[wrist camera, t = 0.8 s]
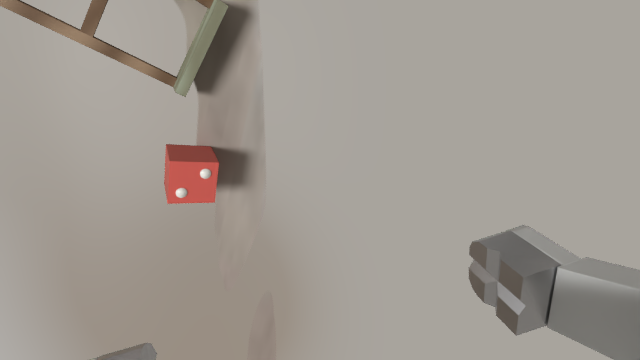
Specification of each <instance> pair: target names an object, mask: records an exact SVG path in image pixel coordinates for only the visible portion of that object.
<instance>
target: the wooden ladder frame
mask: <svg viewBox="0 0 640 360" xmlns="http://www.w3.org/2000/svg"><path fill="white" fill-rule="evenodd" d="M107 1H108V0H92V2H91V4H90V7H89V9H88V12H87V15H86V17H85V20H84V22H83V25H82V27H81V30H80V29H77V28H75V27H73V26H71V25H69V24H67V23H65V22H63V21H61V20H59V19H57V18H55V17H53V16H51V15H49V14H47V13H45V12H43V11H41V10H39V9H37V8H35V7H32V6H30V5H28V4H26V3H24V2H22V1H20V0H0V6H2V7H4V8H6V9H8V10H11V11H13V12H15V13H17V14H19V15H21V16H23V17H26V18H28V19H30V20H32V21H34V22H36V23H38V24H40V25H42V26H45V27H47V28H49V29H51V30H53V31H55V32H57V33H60V34H62V35H64V36H66V37H68V38H70V39H72V40H75V41H76V42H79V43H81V44H83V45H85V46H87V47H89V48H92V49H94V50H96V51H98V52H100V53H102V54H104V55H106V56H108V57H111V58H113V59H115V60H117V61H119V62H121V63H123V64H125V65H128V66H130V67H132V68H134V69H136V70H138V71H140V72H142V73H144V74H147V75H149V76H151V77H153V78H155V79H157V80H159V81H162V82H164V83H166V84H168V85H170V86H172V87H173V88H174V90H175V92H176V93H178V94H180V95H182V96H184V97H186V95H187V92H188V90H189V88H190V86H191V84H192V82H193V80H194V78H195V76H196V74H197V71H198V69H199V67H200V65H201V63H202V61H203V59H204V57H205V55H206V52H207V50H208V48H209V46H210V44H211V42H212V40H213V38H214V36H215V34H216V31H217V29H218V27H219V25H220V23H221V21H222V19H223V17H224V15H225V13H226V10H227V8H228V5H226V4H225V3H223V2H222V1H220V0H196V1H198V2H199V3H201V4H202V5H204V6H205V7H207V8H208V10H207V12H206V14H205V17H204V19H203V21H202V23H201V25H200V27H199V29H198V32H197V34H196V36H195V38H194V40H193V42H192V45H191V47H190V49H189V51H188V53H187V55H186V57H185V60H184V62H183V64H182V66H181V68H180V70H179V73H178V75H177V77H175V76H173V75H171V74H169V73H167V72H165V71H163V70H161V69H159V68H157V67H155V66H153V65H151V64H149V63H147V62H145V61H143V60H141V59H139V58H137V57H135V56H133V55H130V54H128V53H126V52H124V51H122V50H120V49H118V48H116V47H114V46H112V45H110V44H108V43H106V42H104V41H102V40H100V39H98V38H96V37H94V34H95V31H96V29H97V26H98V24H99V21H100V19H101V16H102V14H103V11H104V9H105V6H106V4H107Z"/></svg>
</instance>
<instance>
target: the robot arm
mask: <svg viewBox="0 0 640 360" xmlns="http://www.w3.org/2000/svg"><path fill="white" fill-rule="evenodd" d="M469 254H470V256H471V257H472V258H473V259H474V261H473V262H472V264H471V265H470V267H469V280H470V283H471V285H472V288H473V290H474V291H475V293H476V294H477V296H478V297H479V298H480V299H481V300H482V301H483V302H484V303H486V304H489V305H491V306H494V307H495V309H496V316H497V317H498V318H499V319H500V320H501V321H502V322H503V323H505V325H506V326H507V327H508V328H509V329H510V330H511V331H512V332H513V333H514V334H515V335H519V334H522V333H525V332H528V331H531V330H534V329H537V328H540V327H543V326H546V325H547V327H548V328H550V329H552V330H554V331H556V332H558V333H560V334H562V335H564V336H566V337H569V338H571V339H572V340H575V341H577V342H579V343H581V344H583V345H585V346H587V347H589V348H591V349H593V350H595V351H597V352H599V353H601V354H604V355H606V356H608V357H610V358H612V359H614V360H640V270H637V269H633V268H629V267H625V266H621V265H617V264H612V263H608V262H604V261H600V260H596V259H592V258H587V257H586V258H583V259H581V258H579V257H577V256H576V255H574V254H573V253H571V252H569V251H568V250H566V249H564V248H563V247H561V246H560V245H558V244H556V243H555V242H553V241H552V240H550V239H549V238H547V237H545V236H544V235H542V234H540V233H539V232H537V231H536V230H534V229H532V228H531V227H529V226H524V225H522V226H519V227H516V228H513V229H510V230H507V231H505V232H501V233H498V234H495V235H492V236H489V237H486V238H483V239H479V240H476V241H473V242H472V243H471V245H470V251H469ZM156 354H157V353H156V351H155V349H154V348H153V346H152V344H151V343H144V344H140V345H137V346H133V347H130V348H126V349H123V350H120V351H116V352H113V353H109V354H106V355H102V356H100V357H97V358H94V359H90V360H156Z"/></svg>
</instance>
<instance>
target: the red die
mask: <svg viewBox="0 0 640 360" xmlns="http://www.w3.org/2000/svg"><path fill="white" fill-rule="evenodd" d="M218 167H219V162H218V160H217V158H216V156H215V154H214V152H213V150H212V148H211V147H209V146H190V145H170V144H166V157H165V180H164V184H165V191H166V196H167V203H168V204H169V203H171V204H172V203H209V202H215V195H216V186H217V176H218Z"/></svg>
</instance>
